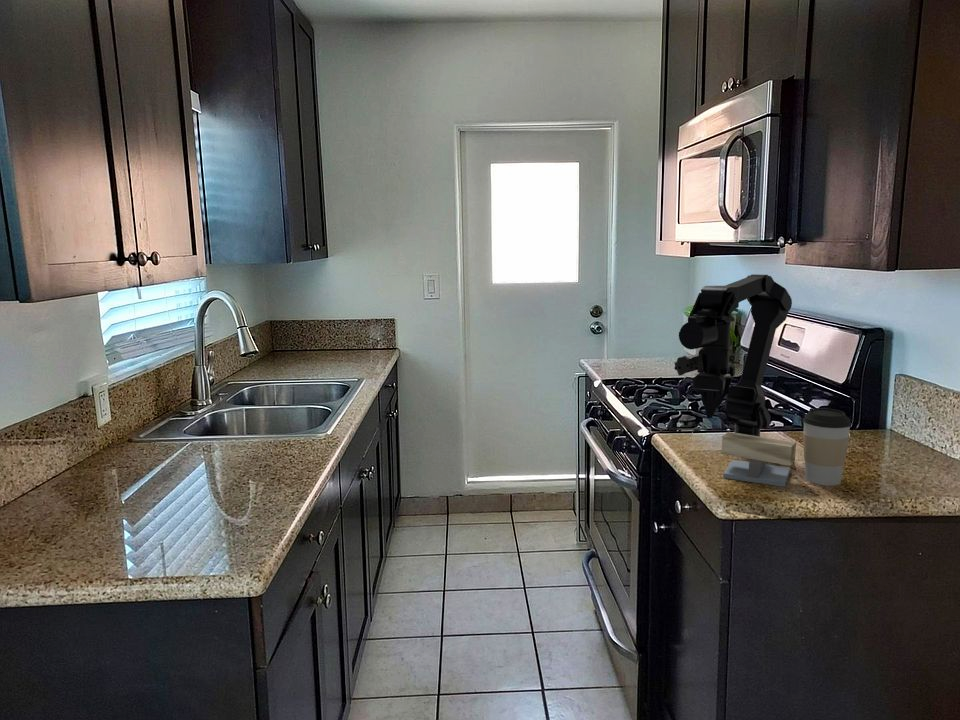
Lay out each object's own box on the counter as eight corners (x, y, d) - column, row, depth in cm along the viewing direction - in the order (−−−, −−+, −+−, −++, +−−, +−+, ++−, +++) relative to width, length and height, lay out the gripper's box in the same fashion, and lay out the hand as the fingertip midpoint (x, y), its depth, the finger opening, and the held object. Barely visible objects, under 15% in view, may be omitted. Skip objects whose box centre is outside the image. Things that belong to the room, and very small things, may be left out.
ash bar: (727, 449, 151) (728, 431, 151) (795, 460, 143) (796, 442, 142) (721, 453, 148) (722, 436, 148) (790, 465, 140) (791, 446, 139)
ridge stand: (732, 464, 153) (732, 447, 153) (790, 472, 147) (791, 454, 147) (723, 477, 145) (724, 459, 144) (784, 486, 139) (785, 468, 138)
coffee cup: (848, 476, 144) (853, 407, 141) (846, 490, 136) (851, 417, 134) (801, 470, 149) (805, 403, 146) (796, 483, 141) (801, 412, 138)
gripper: (686, 336, 161) (684, 400, 163) (668, 348, 144) (666, 419, 147) (736, 338, 155) (733, 404, 158) (723, 351, 139) (720, 424, 142)
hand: (713, 413), depth 151 cm, fingers open, 9 cm apart
